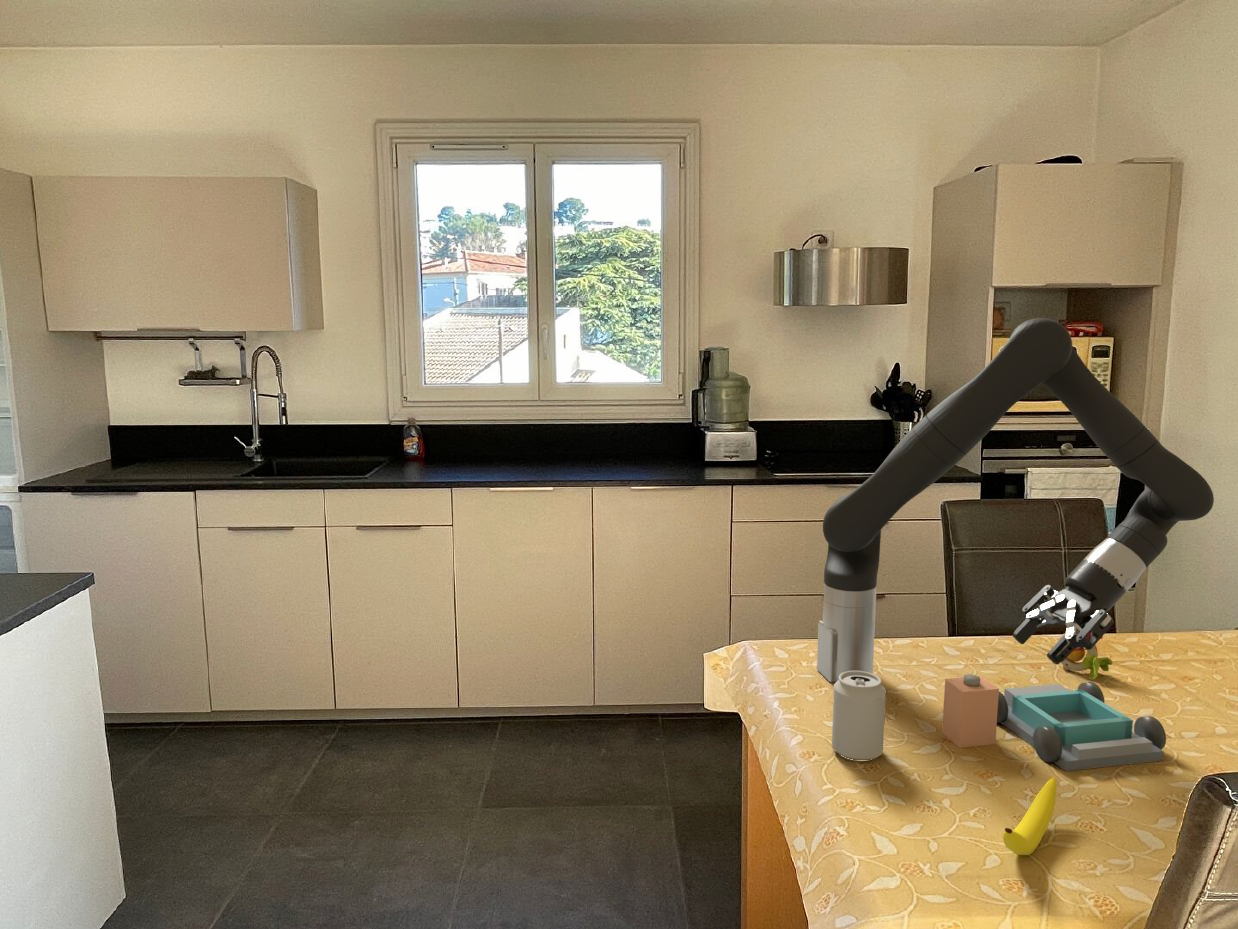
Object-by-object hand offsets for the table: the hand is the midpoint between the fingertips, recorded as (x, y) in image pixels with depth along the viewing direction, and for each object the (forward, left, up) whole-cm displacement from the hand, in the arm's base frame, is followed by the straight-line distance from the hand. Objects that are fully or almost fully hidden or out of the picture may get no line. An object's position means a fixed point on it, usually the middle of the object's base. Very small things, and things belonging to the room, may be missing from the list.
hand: (1033, 650), depth 139 cm
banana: (-18, -27, -14) cm, 35 cm away
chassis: (+6, -2, -14) cm, 15 cm away
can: (-29, -1, -14) cm, 32 cm away
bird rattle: (+24, +19, -14) cm, 33 cm away
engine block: (-10, 0, -14) cm, 17 cm away
